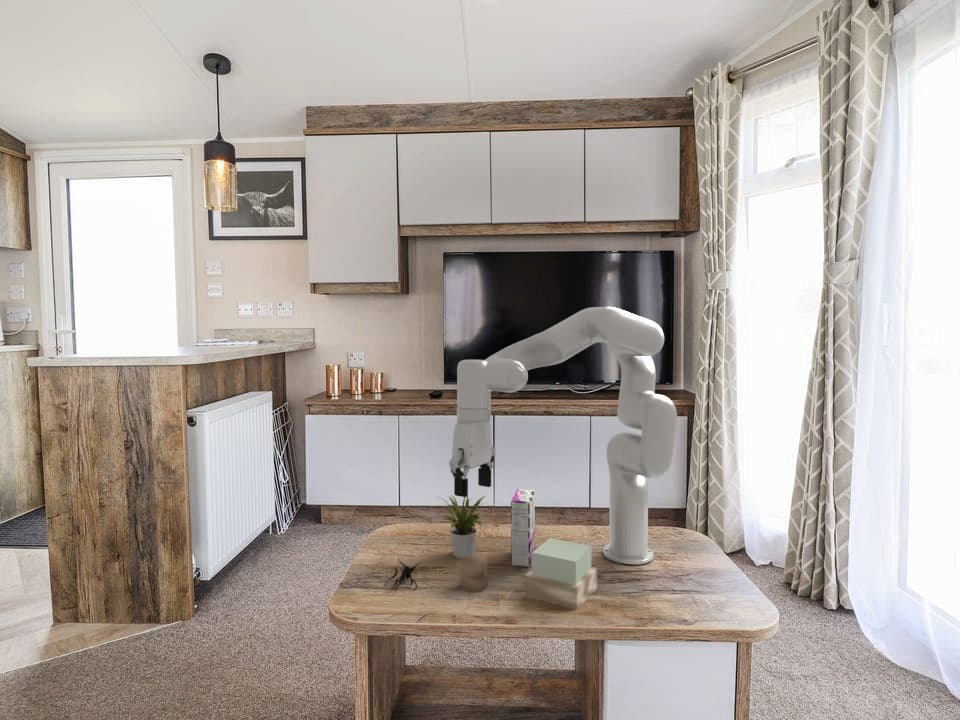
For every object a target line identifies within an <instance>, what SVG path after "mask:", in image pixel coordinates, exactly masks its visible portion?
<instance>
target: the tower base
mask: <svg viewBox="0 0 960 720" xmlns="http://www.w3.org/2000/svg"><path fill="white" fill-rule="evenodd" d="M524 576H525V577H524V580H525V581H524V588H525V589H524V596H525V597H529V598H533V599H536V600H540V601H544V602H545V603H546V602H547V603H551V604H554V605H557V606H561V607H566V608H569V609H572V610H578V609H579V608H580V607H581V606H582V605H583V604H584V603H585V601H586V600H587V599H588V598H590V596H591V595H592V594H593V593H594V592H595V591H596V590H597V589H598V567H595V566H591V569H590V570H589V571H588V572H587V573H586V574H585V575H584V576H583V578H582V579H581V580H580V581H579V582H578V583H577V584H576V585H573V584H569V583H564V582H560V581H556V580H551V579H547V578H543V577H538V576H534V575H532V569H531V570H530V571H529V572H528V573H526V574H525V575H524Z"/></svg>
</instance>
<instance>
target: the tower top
mask: <svg viewBox="0 0 960 720" xmlns="http://www.w3.org/2000/svg"><path fill="white" fill-rule="evenodd" d="M591 567H592V545H588V544H581V543H577V542H572V541H567V540H562V539H556V538H552V537H550V538H548V539H547V540H546V541H545V542H544V543H542V544H541V545H540V546H538V547H537V548H535V551H533V552H532V562H531V570H532V575H534V576H538V577H543V578H547V579H551V580H556V581H560V582H564V583H569V584H573V585H576V584H577V583H578V582H579V581H580V580H581V579H582V578H583V576H584V575H585V574H586V573H587V572H588V571H589V570H590V569H591Z"/></svg>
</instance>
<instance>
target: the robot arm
mask: <svg viewBox="0 0 960 720" xmlns="http://www.w3.org/2000/svg"><path fill="white" fill-rule="evenodd" d="M597 343H604V344H606V346H607V348H608V349H609V350H610V351H611V352H612V353H613V355H614V356H615V358H616V359H617V361H618V363H619V366H620V369H621V370H620V371H621V372H620V373H621V374H620V376H621V377H620V385H619V386H620V387H619V395H618V402H617V403H618V404H617V412H616V413H617V414H616V415H617V418H618V421H619V422H620V424H622V425H623V426H625V427H628V428H631V429H634V430H639V431H641V434H636V433H632V432H628V431H627V432H619V433H617V434H615V435H613V436H612V437H611V438H610V439H609V441H608V443H607V446H606V460H607V466H608V474H609V524H608V525H609V530H608V531H609V537H608V538H609V540H608V541H609V542H608V544H606V545H604V546H603V548H602V555H603V556H604V557H605V558H606V559H608V560H610V561H612V562H615V563H619V564H625V565H645V564H649V563H650V562H652V561H653V559H654V555H655V554H654V551H652V549H650V548H649V547H648V536H649V535H648V528H649V527H648V525H649V523H648V522H649V515H648V514H649V484H648V480H647V479H652V480H657V479H660V478H663V477H664V476H665V475H666V474H667V473H668V471H669V470H670V468H671V464H672V463H673V462H672V461H673V456H674V449H675V440H676V434H677V427H678V426H677V424H678V414H677V409H676V405H675V404H674V402H673V401H672V400H671V398H669V397H667V396H666V395H664V394H658V393H656V392H655V391H656V378H657V371H656V366H655V362H654V360H653V358H652V356H654V355H656V354H658V353H659V352H660V351H661V350H662V348H663V346H664V343H665V334H664V332H663V329H662V328H661V326H660V325H659V324H658V323H656V322H655V321H653V320H650V319H648V318H645V317H643V316H639V315H637V314H634V313H631V312H629V311H626V310H625V309H624V310H623V309H621V308H617V307H613V306H597V307H596V306H595V307H594V306H593V307H586V308H583V309H582V310H579V311H578V312H576V313H574V314H572V315H571V316H569V317H567V318H565V319H564V320H562V321H559V322H558V323H557V324H555V325H554V324H553V326H550V327H549V328H547V329H545V330H544V331H541V332H539V333H535V334H534V335H532V336H529V337H527V338H525V339H522V340H519V341H517V342H515V343H512V344H511V345H508V346H506V347H504V348H503V349H500V350H499V351H497V352H495V353H494V354H493V353H492V354H491V355H490V356H488V357H487V358H485V359H463V360H460V361H459V362H458V364H457V371H456V372H457V373H456V374H457V375H456V377H457V378H456V379H457V380H456V381H457V383H456V393H457V394H456V422H455V425H454V431H453V437H452V452H451V458H450V459H449V461H448V465H449V467H450V472H451V475H452V477H453V478H454V483H453V486H454V491H453V492H454V496H457V497H462V498H464V497H465V498H467V496H468V495H469V479H468V478H467V476H468V474H469V471H470V469H473V468H474V469H475V468H476V467H478V470H477V471H478V473H477V474H478V477H477V478H478V479H477V480H478V481H477V484H478V486H481V487H486V488H490V487H492V469H493V463H494V460H495V453H496V447H494V446H493V441H492V437H493V436H492V426H491V421H492V419H491V418H492V417H491V415H492V413H491V410H492V402H491V401H492V398H491V397H492V396H491V395H492V392H503V393H508V394H509V393H515V392H518V391H520V390H522V389H523V388H524V387H525V386H526V384H527V383H528V379H529V374H528V373H529V372H528V371H530V370H532V369H537V368H543V367H548V366H553V365H554V366H555V365H557V364H561V363H563V362H566V361H567V360H568V359H570V358H572V357H574V356H575V355H577V354H579V353H580V352H581V351H584V350H585V349H587V348H588V347H590V346H593V345H594V344H597ZM462 469H463V470H462ZM468 497H469V496H468Z"/></svg>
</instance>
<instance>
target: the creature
mask: <svg viewBox="0 0 960 720" xmlns="http://www.w3.org/2000/svg"><path fill="white" fill-rule="evenodd" d="M397 561H398V562H399V563H400V564H401V565H402V567H403V568H401V567H399V568H400V570H401V571H402V572H400V573H401V575H399V576H397V574H398V568H394V571H395V573H394V575H393V576H390V577H389V578H388V579H386V580H385V582H384V585H385V587H387V585H386V583H387V582H388V581H389V580H393V579H394V578H396V580H395V583H394V584H392V585H391V587H392V590H393V591H398V587H399V586H401V585H402V581H403V582H405V581H406V580H407V581H408V580H410V586H412V585H413V583H414V584H415V589H417V588H418V584H417V582H416V581H415V580H414V579H413V578H412V573H413V572H414V570H415V569H416V568H417V567H418V566H419V564H421V563H422V561H421V562H418V563H416V564H415V565H414V566H413V567H410V566H409V565H405V563H403V562H402V561H400V559H399V558H397ZM398 580H399V581H398ZM395 586H396V589H395ZM406 588H407V589H408V590H409V591H410V588H409V586H406ZM415 589H413V590H412V591H413V592H414V591H415Z"/></svg>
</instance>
